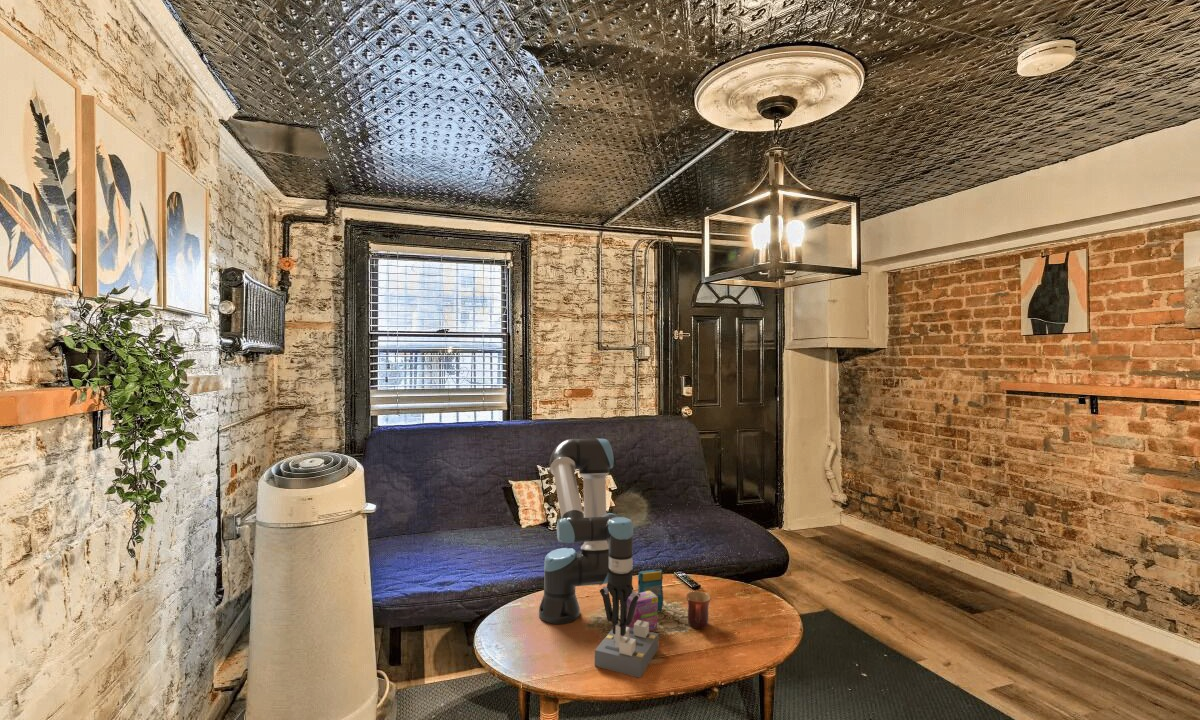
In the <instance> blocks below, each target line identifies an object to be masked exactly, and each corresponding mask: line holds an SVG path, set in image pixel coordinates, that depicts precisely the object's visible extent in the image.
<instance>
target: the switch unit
mask: <svg viewBox="0 0 1200 720" xmlns="http://www.w3.org/2000/svg"><path fill="white" fill-rule="evenodd" d="M626 627H627V626H626ZM629 637H630V638H633V639H636V649H635V652H634V653H633V655H632V656H629V655H625V654H621V653H619V647H616V646H615V641H613V640H614V634H613V628H612V629H611V630H610V631H609V632H608V633H607V635H606V636H605V637H604V638H603V639H602V641H601V642H599V645H597V647H596V648H595V650H594V667H596V668H597V667H598V668H600V669H605V670H609V671H613V672H616V673H620V674H625V675H626V676H627V675H628V676H631V677H634V678H639V679H641V677H643V674H644V673H645V672H646V670H647V668H648V667H649V665H650V664H651V661H652V660H653V658H654V656H655V655H656V654H657V651H658V650H659V633H656V632H652V631H649V633H648V635H647V636H646V638H643V637H639V636H635V635H634V628H631V627H629Z"/></svg>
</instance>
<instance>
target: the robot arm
mask: <svg viewBox="0 0 1200 720" xmlns="http://www.w3.org/2000/svg"><path fill="white" fill-rule="evenodd" d="M609 441H610V440H608V439H606V438H598V437H596V438H569V439H565V440H563V441H562V442H560V443H559V444H558V445H556V447H555V448H554V449H553V451H552V453H551V455H550V459H549V469H550V471H549V472H550V473H551V474H552V476H553V478H554V485H555V489H556V494H557V501H558V506H559V512H560V518H559V519H557V522H556V537H557V538H556V539H557V541H558V542H559V543H562V544H575V543H583V544H582V545H581V546H580V552H576V550H575V549H574V548H570V547H569V548H568V547H561V548H557V549H553V550H551V551H550V552H548V553H547V554H546V555H545V557H544V563H543V565H544V566H543V574H544V577H543V579H544V580H543V584H544V585H543V596H542V598H541V602H540V604H539V608H538V617H539V619H540V620H542V621H543V622H544V623H548V624H552V625H553V624H554V625H564V624H570V623H573V622H575V621H576V620H577V619H578V618H580V613H581V609H580V604H579V601H578V598H577V594H576V587H582V586H583V587H585V586H602V585H606V586H603V587H602V588H601V589H600V590H599V594H600V595H601V597H602V600H603V605H604V611H605V615H606V616H605V617H606V620H607V621H608V622H610V623H612V629H613V634H615V646H616V647H619V642H620V640H621V639H622V638H623V636H624V635H625V633H626V625H627V626H628V625H629V624H630V623H631V622H632V619H633V615H634V611H635V607H636V603H637V600H638V599H639V598H640V594H639V593H638V592H636V591H635V590H634V587H633V567H634V566H633V564H634V563H633V555H634V553H633V552H634V551H633V550H634V533H635V531H634V523H633V520H632V519H630V518H627V517H624V516H618V515H617V514H615V513H612V512H608V513H607V493H606V492H607V490H606V489H607V488H606V487H607V486H606V484H607V483H606V479H607V476H609V474H610V470H611V469H613V467H614V464H615V463H614V461H615V460H614V458H615V457H614V452H613V448H612V445H611V443H610V442H609ZM576 470H579V471H578V472H579V473H578V475H580V477H582V483H583V505H582V501H581V495H580V492H579V487H578V483H577V478H576V473H575V471H576ZM637 593H638V594H637ZM630 595H632V596H631V599H632V601H631V604H630V608H629V612H628V616H627V598H628V597H629V596H630ZM610 596H611V598H610Z"/></svg>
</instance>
